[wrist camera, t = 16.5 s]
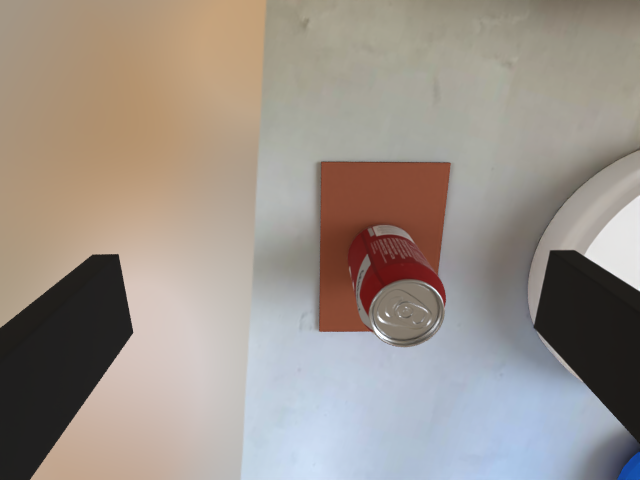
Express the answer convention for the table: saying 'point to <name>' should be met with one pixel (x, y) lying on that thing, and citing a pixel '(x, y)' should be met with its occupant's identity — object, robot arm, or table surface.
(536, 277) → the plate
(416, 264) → the soda can
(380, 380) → the table surface
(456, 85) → the table surface
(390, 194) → the mat
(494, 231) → the table surface
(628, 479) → the vase
